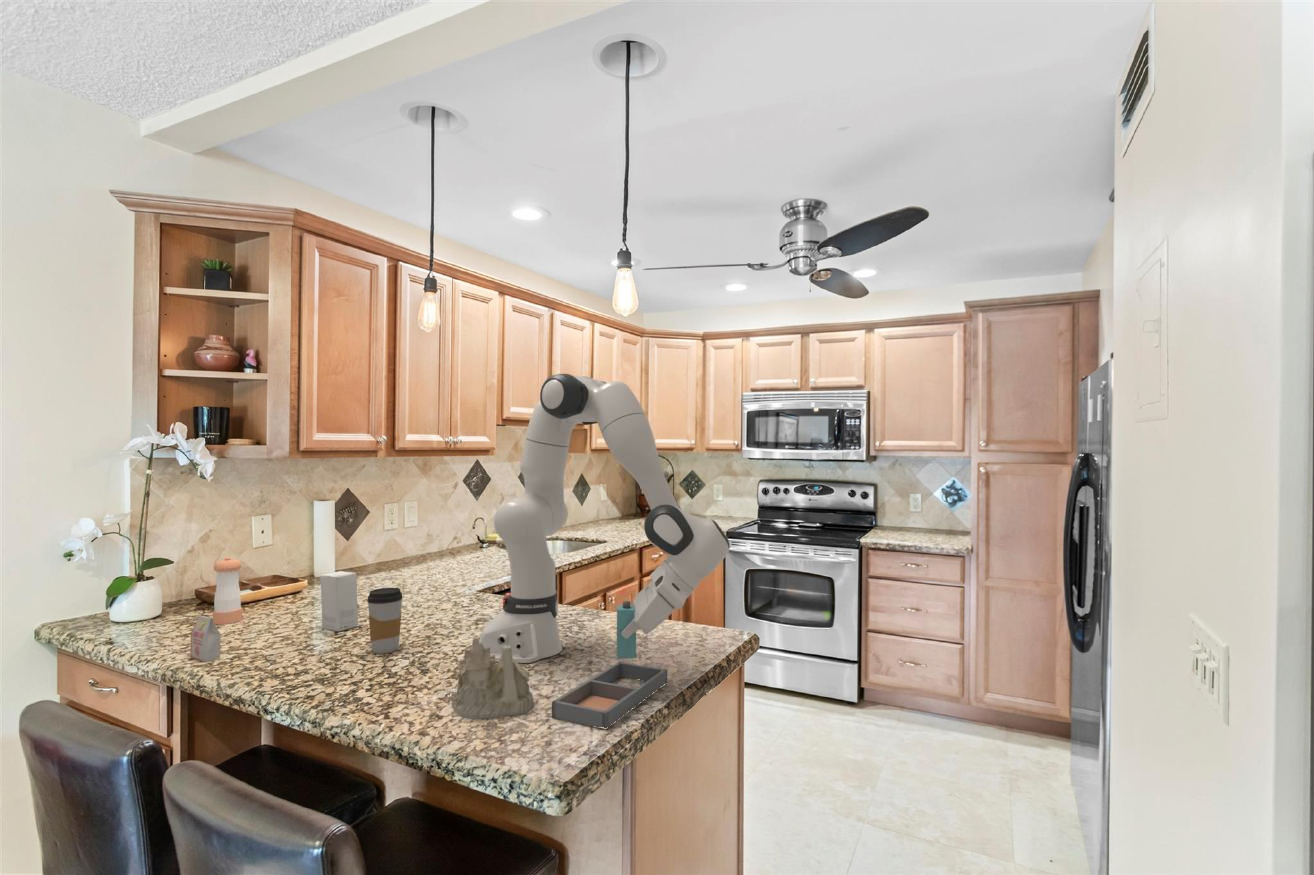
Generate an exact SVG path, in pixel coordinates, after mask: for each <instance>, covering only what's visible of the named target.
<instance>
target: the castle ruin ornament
mask: <svg viewBox="0 0 1314 875" xmlns="http://www.w3.org/2000/svg"><path fill="white" fill-rule="evenodd" d="M463 656H464V659H463V658H460V659H459V662H458V664H459V667H458V668H459V670H458V672H459V673H458V680H457V681H458V684H457V689H456V692H455V693H454V694H453V698H452V699H451V708H452V709H453V712H454V713H455V714H456V716H458V717H459V718H464V719H470V720H484V719H491V718H492V719H495V718H503V717H512V716H513V717H514V716H521V715H523V714H526V713H529V712H530V711H532V710H533V709H534V706H535V702H534V697H533V693H532V692H531V691H530V685H529V683H528V682H529V681H530V678H529V675H528V672H527V670H526V669H525V668H524V667H523V666H521V665H520V664H519V663H517V662H516V661H514V659H513V657H512V652H511V647H510V646H504V647H503V652H502V656H501V657H500V659H499V661H498V662H496V661H495V655H492V656H490V646H489V647H485V648H484V646H483V644H482V642H479V637H478V636H473V637H472V642H471V648H470V649H469V648H468V649H464V655H463Z"/></svg>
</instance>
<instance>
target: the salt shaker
mask: <svg viewBox="0 0 1314 875" xmlns="http://www.w3.org/2000/svg"><path fill="white" fill-rule="evenodd" d="M242 566H243V564H242V562H241V561H240V560H238V559H235V558H231V557H230V556H226V557H225V558H224V559H221V560H219V561H217V562H215V563H214V565H213V571H215V572H216V589H215V592H214V593H215V594H214V599H213V600H214V601H213V602H214V605H213V607H214V608H213V609H214V610H213V611H212V619H213V622H214V624H215V625H229V624H234V623H237V622H240V621H242V620H243V608H242V606H241V605H242V594H241V590H240V585H239V584H240V583H239V581H240V579H239V578H240V577H239V576H240V575H239V570H241V568H242Z"/></svg>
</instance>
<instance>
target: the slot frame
mask: <svg viewBox="0 0 1314 875" xmlns="http://www.w3.org/2000/svg"><path fill="white" fill-rule="evenodd" d="M624 677H627V678H626V679H630V678H631V680H635V679H640V680H639V681H641V680H644V681H643V682H644V683H642V684H640V685H639V686H637V687H633V686H627V685H622V684H617V683H613V682H614V681H616V680H617V679H619V678H624ZM666 683H667V684H668V669H665V668H659V667H653V666H647V665H642V664H635V663H629V662H625V661H618V662H616V663H614V664H612V665H611V666H609V667H608V668H605V669H604V670H603V671H601V672H599V673H598V674H596V675H595V676H592V677H591V678H589V679H587V680H586V681H584V682H583V683H581V684H579V685H577V686H575V687H573V688H572V689H570V690H569V691H567V692H566V693H564V694H562V695H561V696H559V697H558V698H556V699H554V700H552V701H551V718H552V719H557V720H559V721H560V720H561V721H565V722H569V723H573V722H574V724H578V723H579V724H578V725H582V724H586V725H585V726H587V725H589V726H588V727H591V726H596V727H604V728H607V727H609V726H610V725H611V724H613V723H614V722H615V721H617V720H618V719H619V718H621V717H622V716H623V715H625V714H626V713H627V712H628V711H630V710H631V709H632V708H634V707H635V706H637V705H638V704H639V703H640V702H642V701H643V700H644V699H646V697H648V696H649V695H651V694H652V693H653V692H655V691H656V690H658V689H659V688H660V687H661V686H663V685H664V684H666ZM667 684H666V685H667ZM658 691H659V690H658ZM646 700H647V699H646ZM642 703H643V702H642ZM638 706H639V705H638ZM638 706H637V707H638ZM625 716H626V715H625ZM621 719H622V718H621ZM617 722H618V721H617ZM613 725H614V724H613ZM596 727H595V728H596ZM609 728H610V727H609Z"/></svg>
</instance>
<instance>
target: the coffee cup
mask: <svg viewBox="0 0 1314 875" xmlns="http://www.w3.org/2000/svg"><path fill="white" fill-rule="evenodd" d="M401 590H402V589H400V588H399V587H382V588H381V587H380V588H376V589H373V590H370V591H369V594H368V596H367V600H366V601H367V602H366V603H367V605H368V622H369V637H370V645H371V646H370V647H371V651H372V653H373V654H379V655H380V654H383V655H384V654H389V653H394V652H395V651H397V650H398V648H399V647H400V646H399V645H400V636H401V623H402V605H403V604H402V601H403V593H402V591H401Z"/></svg>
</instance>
